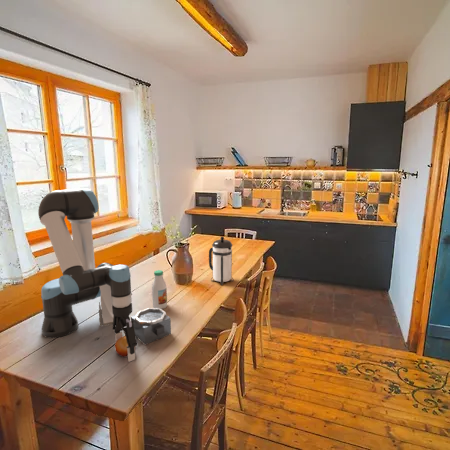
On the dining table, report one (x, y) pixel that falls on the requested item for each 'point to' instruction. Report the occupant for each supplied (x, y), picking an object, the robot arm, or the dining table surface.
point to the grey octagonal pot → (151, 324)
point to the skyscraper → (105, 306)
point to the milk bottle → (159, 291)
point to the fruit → (121, 346)
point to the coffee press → (221, 260)
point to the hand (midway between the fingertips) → (125, 353)
